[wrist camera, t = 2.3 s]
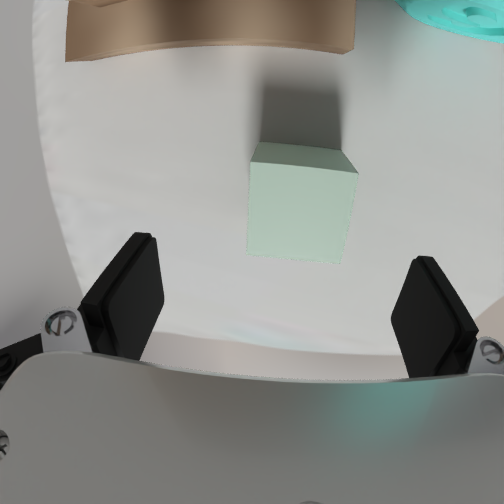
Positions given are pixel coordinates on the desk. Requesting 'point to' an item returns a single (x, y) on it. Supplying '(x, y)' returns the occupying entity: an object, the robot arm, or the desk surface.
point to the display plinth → (206, 25)
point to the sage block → (299, 202)
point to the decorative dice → (461, 16)
